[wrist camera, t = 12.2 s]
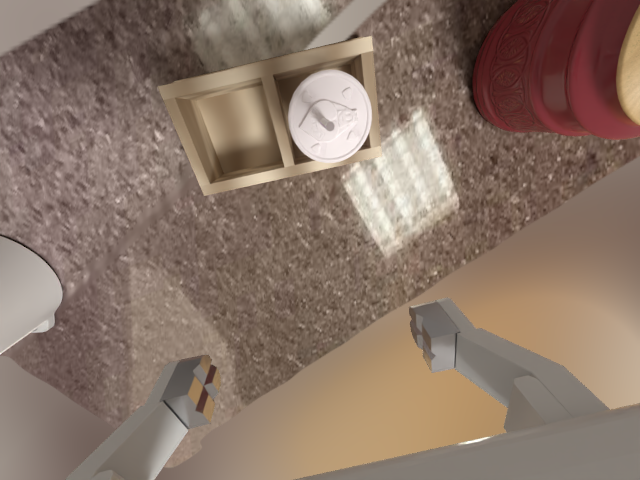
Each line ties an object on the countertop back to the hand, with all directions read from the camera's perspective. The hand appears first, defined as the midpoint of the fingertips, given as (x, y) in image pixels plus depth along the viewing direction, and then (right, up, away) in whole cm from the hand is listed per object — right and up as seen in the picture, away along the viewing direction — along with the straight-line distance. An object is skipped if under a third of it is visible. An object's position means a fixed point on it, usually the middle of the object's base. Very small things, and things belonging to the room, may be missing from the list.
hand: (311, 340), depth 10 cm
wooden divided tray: (-4, +17, +18) cm, 25 cm away
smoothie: (0, +18, +17) cm, 25 cm away
